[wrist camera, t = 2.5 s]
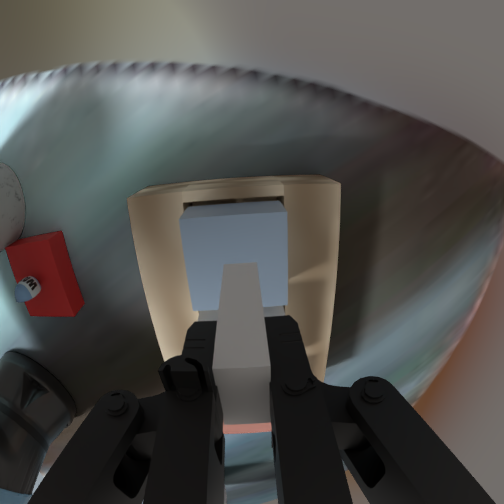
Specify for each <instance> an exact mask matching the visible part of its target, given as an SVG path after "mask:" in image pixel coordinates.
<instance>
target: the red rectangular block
mask: <svg viewBox="0 0 504 504" xmlns="http://www.w3.org/2000/svg"><path fill="white" fill-rule="evenodd" d="M5 249H6V252H7V256H8V259H9V262H10V265H11V268H12V271H13V274H14V277H15V279H16V282H17V286H16V288H15V298H16V301H17V302H25V305H26V307H27V309H28V312H29V314H30V316H51V317H75V315H76V314H77V313H78V311H79V310H80V309H81V308H82V306H83V305H84V304H85V303H84V300H83V297H82V295H81V292H80V289H79V286H78V283H77V280H76V277H75V274H74V271H73V268H72V265H71V261H70V258H69V254H68V251H67V247H66V244H65V240H64V236H63V232H62V231H57V232H52V233H47V234H41V235H36V236H32V237H27V238H22V239H18V240H17V241H15V242H13V243H12V244H10V245H9V246H7V247H5Z"/></svg>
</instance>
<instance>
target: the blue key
mask: <svg viewBox="0 0 504 504" xmlns="http://www.w3.org/2000/svg"><path fill="white" fill-rule="evenodd" d="M179 225H180V232H181V240H182V247H183V253H184V260H185V267H186V273H187V279H188V285H189V291H190V297H191V303H192V308H193V311H208V310H218V309H219V300H220V292H221V283H222V275H223V266H224V264H236V263H252V262H257V267H258V274H259V282H260V289H261V297H262V304H263V307H271V306H283V305H288V223H287V211H286V209H285V208H284V206H283V205H282V203H281V202H280V201H260V202H244V203H229V204H215V205H203V206H191V207H187V209H186V210H185V211H184V213H183V214H182V215H181V217H180V218H179Z"/></svg>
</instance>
